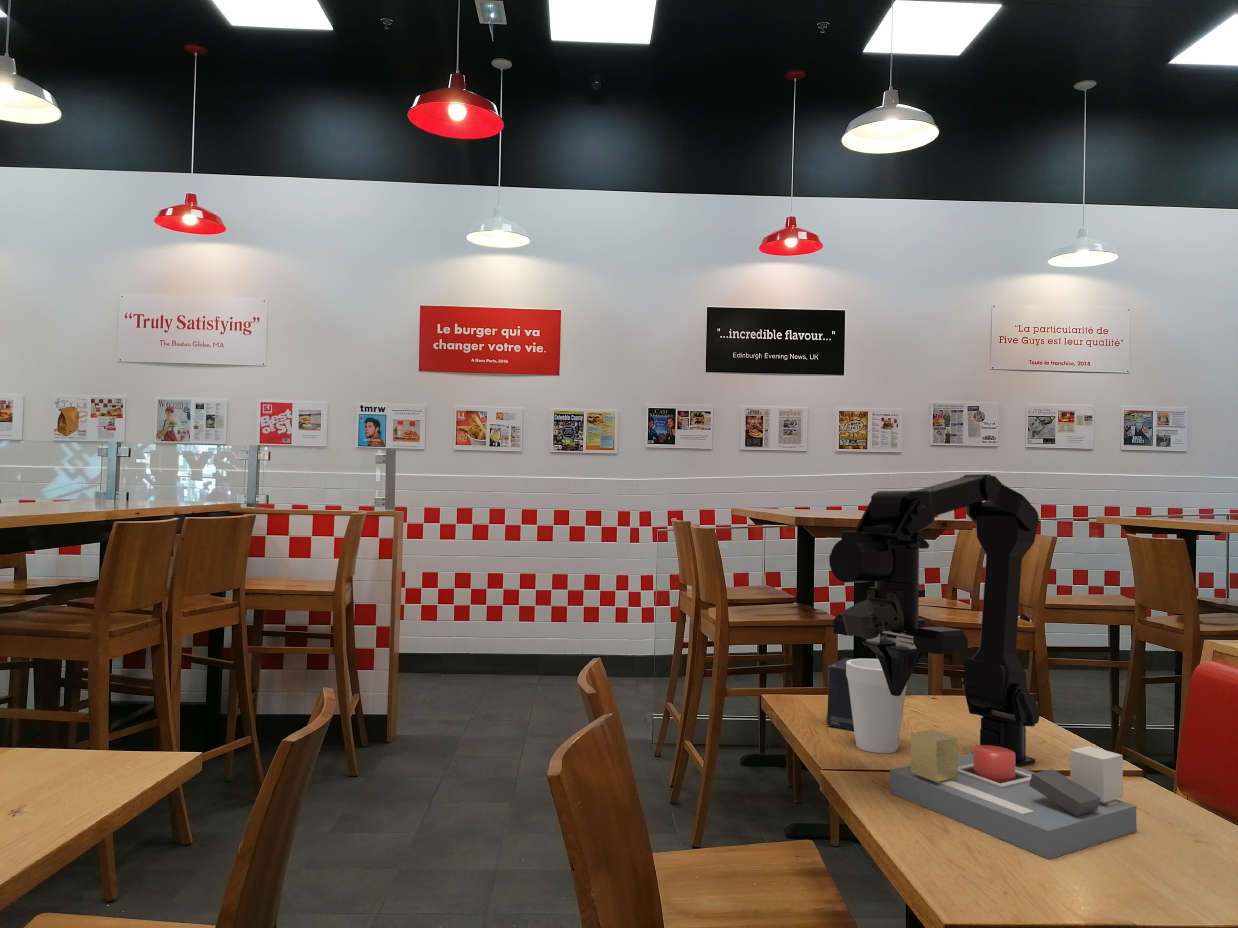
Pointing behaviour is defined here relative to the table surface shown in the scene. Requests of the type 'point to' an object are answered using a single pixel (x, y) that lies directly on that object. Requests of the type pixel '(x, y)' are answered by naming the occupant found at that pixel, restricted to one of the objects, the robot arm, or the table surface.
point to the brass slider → (934, 755)
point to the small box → (839, 696)
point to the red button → (994, 763)
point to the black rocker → (1064, 792)
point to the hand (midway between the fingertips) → (895, 695)
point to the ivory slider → (1098, 772)
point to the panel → (1014, 810)
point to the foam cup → (874, 707)
